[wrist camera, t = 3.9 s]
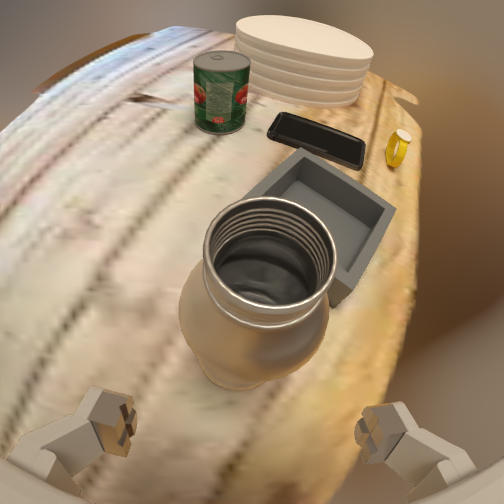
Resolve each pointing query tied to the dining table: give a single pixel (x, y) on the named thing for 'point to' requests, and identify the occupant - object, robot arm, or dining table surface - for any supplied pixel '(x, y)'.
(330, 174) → the tray
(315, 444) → the dining table surface
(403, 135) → the watch
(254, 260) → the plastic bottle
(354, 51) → the plate stack
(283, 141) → the phone
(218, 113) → the canned tomato
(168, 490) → the dining table surface
